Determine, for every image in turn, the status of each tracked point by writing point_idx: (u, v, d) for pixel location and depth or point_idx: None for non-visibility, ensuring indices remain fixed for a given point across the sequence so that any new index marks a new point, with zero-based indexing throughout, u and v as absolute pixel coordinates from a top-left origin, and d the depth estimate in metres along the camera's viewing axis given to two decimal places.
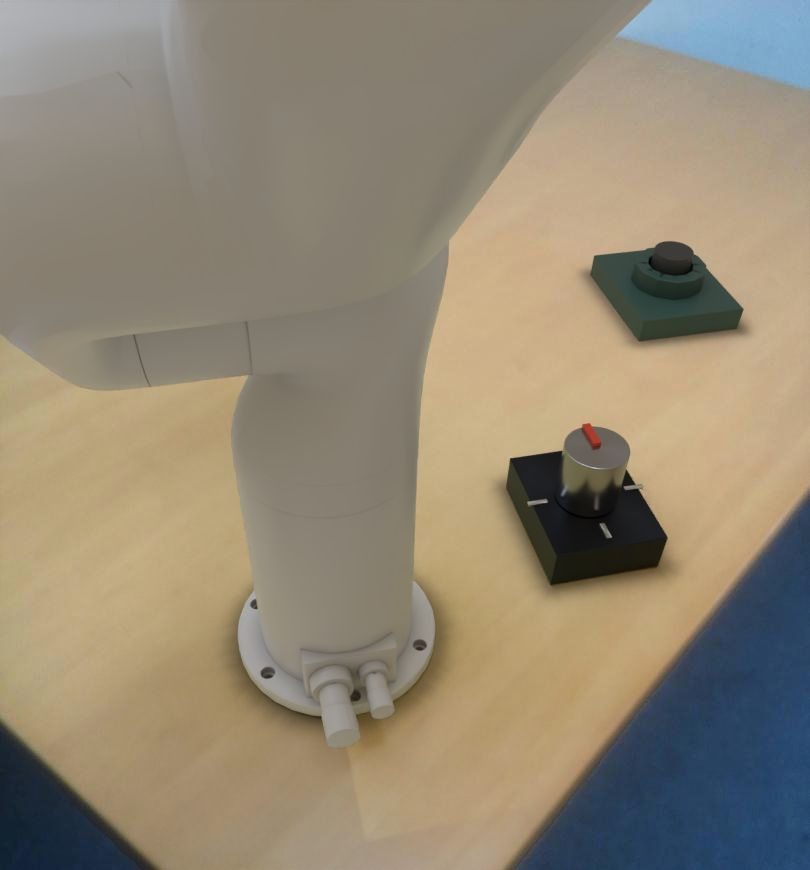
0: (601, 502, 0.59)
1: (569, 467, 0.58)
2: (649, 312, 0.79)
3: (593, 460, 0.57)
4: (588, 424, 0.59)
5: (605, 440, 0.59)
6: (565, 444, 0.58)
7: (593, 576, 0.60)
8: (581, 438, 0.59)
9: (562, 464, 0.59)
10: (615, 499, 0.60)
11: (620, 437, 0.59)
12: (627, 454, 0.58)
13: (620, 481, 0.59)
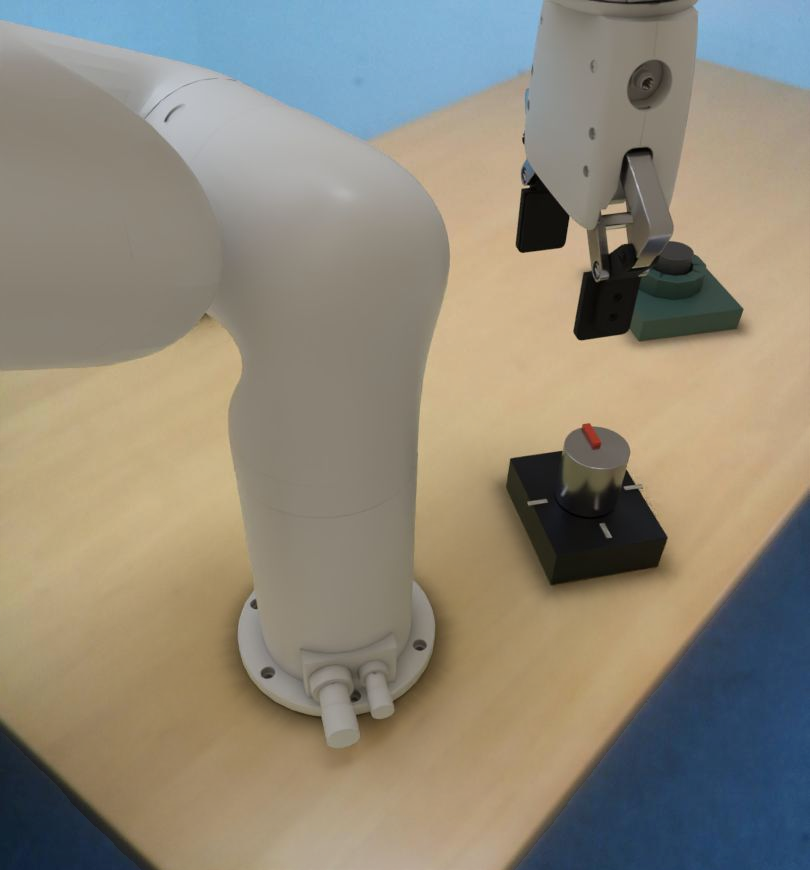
0: (601, 502, 0.59)
1: (569, 467, 0.58)
2: (649, 312, 0.79)
3: (593, 460, 0.57)
4: (588, 424, 0.59)
5: (605, 440, 0.59)
6: (565, 444, 0.58)
7: (593, 576, 0.60)
8: (581, 438, 0.59)
9: (562, 464, 0.59)
10: (615, 499, 0.60)
11: (620, 437, 0.59)
12: (627, 454, 0.58)
13: (620, 481, 0.59)
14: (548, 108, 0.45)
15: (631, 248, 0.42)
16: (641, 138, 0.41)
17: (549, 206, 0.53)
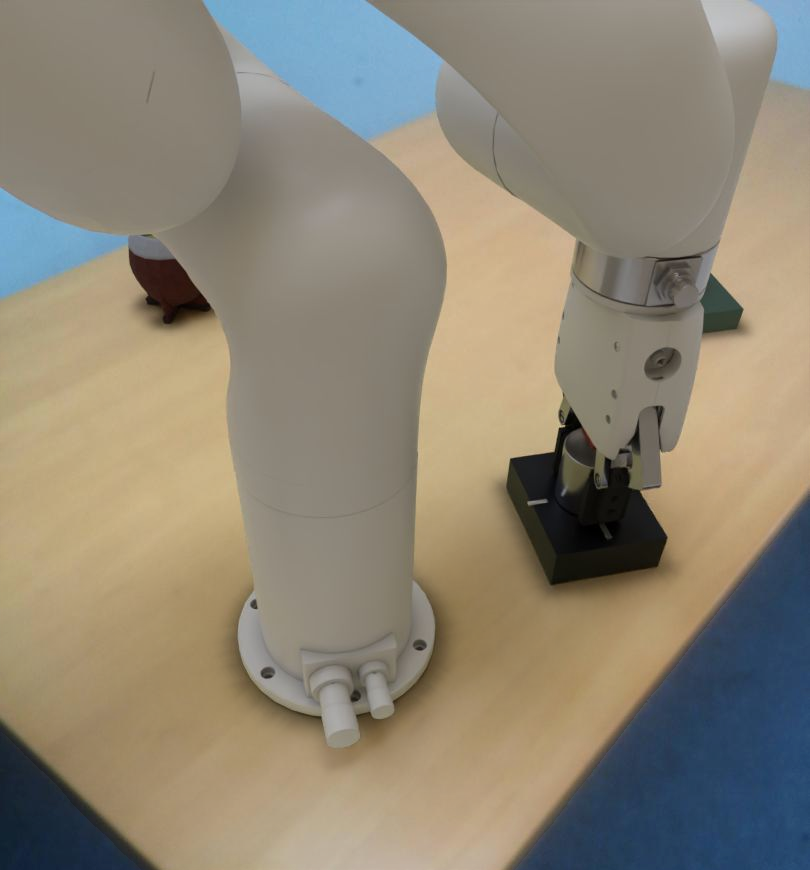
0: None
1: (569, 467, 0.58)
2: None
3: (593, 460, 0.57)
4: None
5: None
6: (565, 444, 0.58)
7: (593, 576, 0.60)
8: (581, 438, 0.59)
9: (562, 464, 0.59)
10: None
11: None
12: (627, 454, 0.58)
13: None
14: (577, 356, 0.53)
15: (625, 473, 0.53)
16: (655, 400, 0.49)
17: None
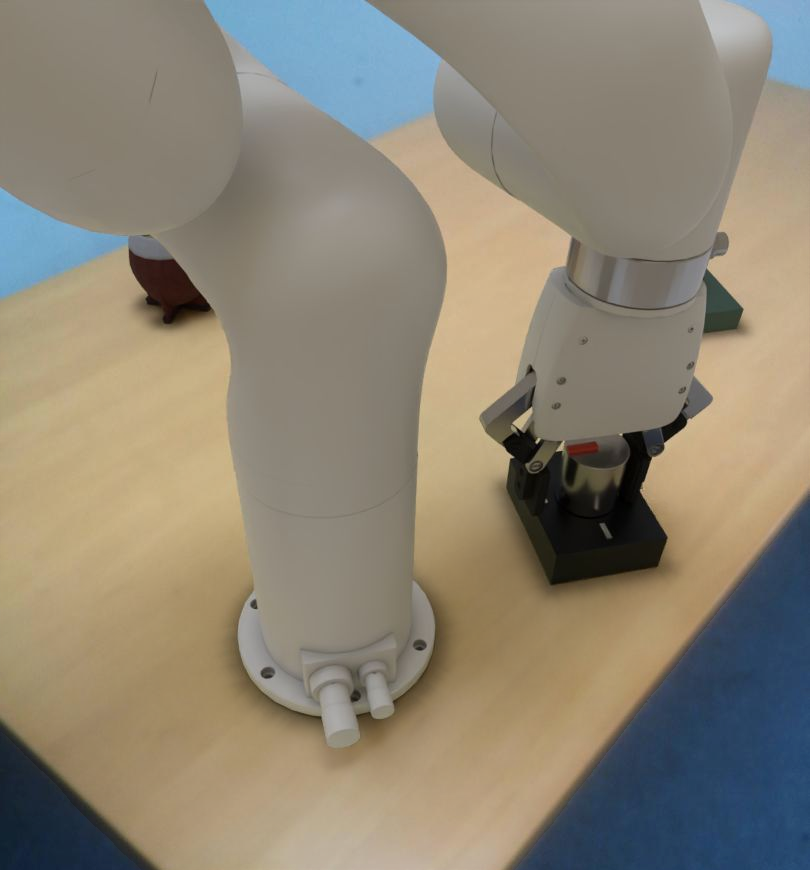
0: None
1: (617, 474, 0.58)
2: None
3: (618, 452, 0.58)
4: (569, 446, 0.58)
5: (585, 440, 0.59)
6: (599, 468, 0.57)
7: (593, 576, 0.60)
8: (586, 456, 0.58)
9: (603, 483, 0.58)
10: None
11: None
12: None
13: None
14: (617, 386, 0.51)
15: (682, 415, 0.57)
16: None
17: None
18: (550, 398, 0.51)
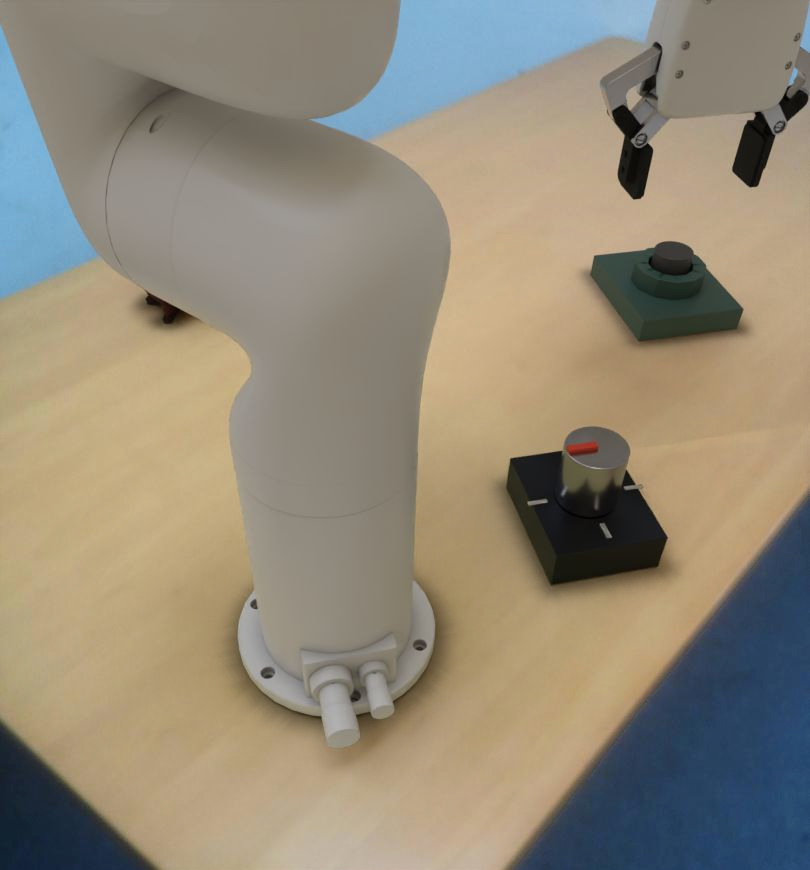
0: None
1: (617, 474, 0.58)
2: (649, 312, 0.79)
3: (618, 452, 0.58)
4: (569, 446, 0.58)
5: (585, 440, 0.59)
6: (599, 468, 0.57)
7: (593, 576, 0.60)
8: (586, 456, 0.58)
9: (603, 483, 0.58)
10: None
11: (578, 430, 0.59)
12: (603, 428, 0.60)
13: None
14: (733, 53, 0.59)
15: (804, 92, 0.64)
16: None
17: None
18: (674, 65, 0.59)
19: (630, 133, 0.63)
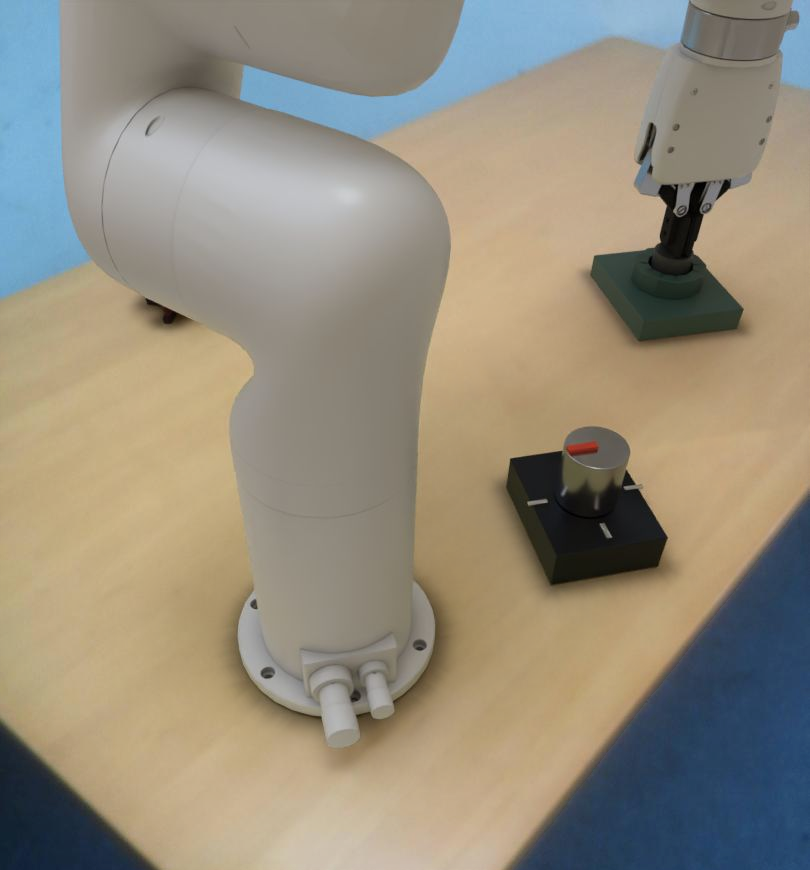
0: None
1: (617, 474, 0.58)
2: (649, 312, 0.79)
3: (618, 452, 0.58)
4: (569, 446, 0.58)
5: (585, 440, 0.59)
6: (599, 468, 0.57)
7: (593, 576, 0.60)
8: (586, 456, 0.58)
9: (603, 483, 0.58)
10: None
11: (578, 430, 0.59)
12: (603, 428, 0.60)
13: None
14: (715, 133, 0.71)
15: (726, 179, 0.76)
16: None
17: None
18: (667, 143, 0.71)
19: (672, 205, 0.77)
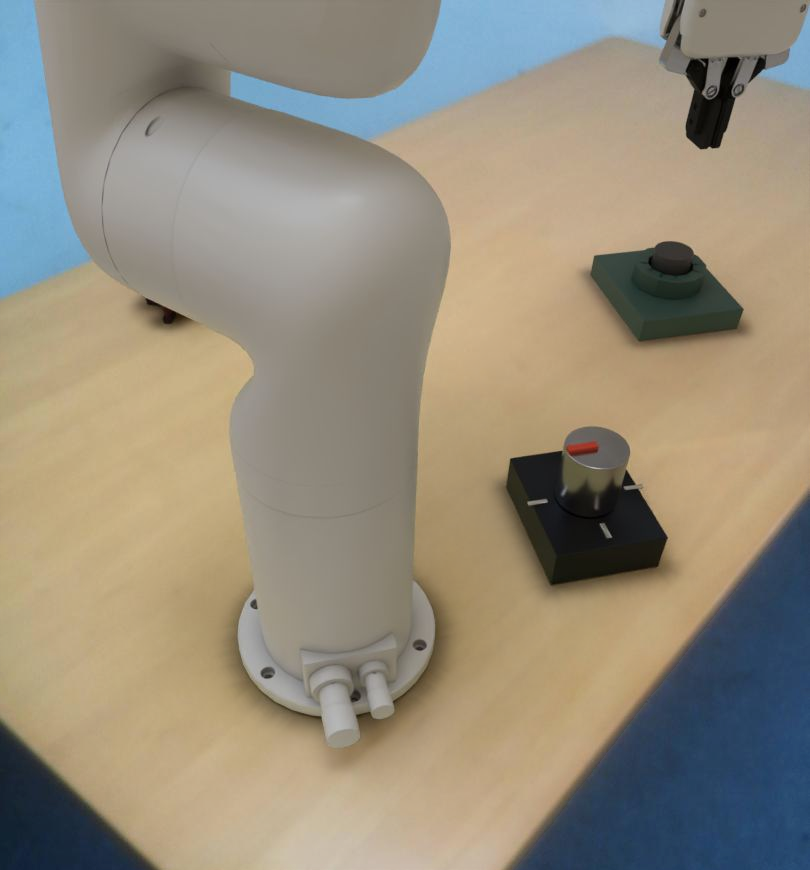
0: None
1: (617, 474, 0.58)
2: (649, 312, 0.79)
3: (618, 452, 0.58)
4: (569, 446, 0.58)
5: (585, 440, 0.59)
6: (599, 468, 0.57)
7: (593, 576, 0.60)
8: (586, 456, 0.58)
9: (603, 483, 0.58)
10: None
11: (578, 430, 0.59)
12: (603, 428, 0.60)
13: None
14: None
15: (761, 57, 0.69)
16: None
17: None
18: (698, 4, 0.63)
19: (701, 85, 0.69)
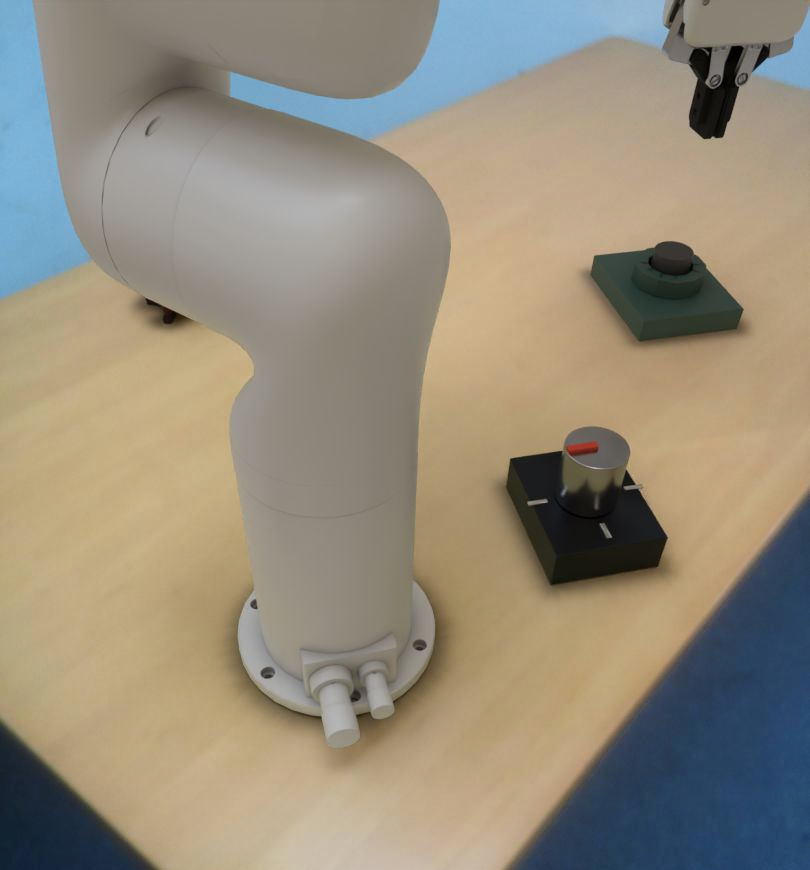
0: None
1: (617, 474, 0.58)
2: (649, 312, 0.79)
3: (618, 452, 0.58)
4: (569, 446, 0.58)
5: (585, 440, 0.59)
6: (599, 468, 0.57)
7: (593, 576, 0.60)
8: (586, 456, 0.58)
9: (603, 483, 0.58)
10: None
11: (578, 430, 0.59)
12: (603, 428, 0.60)
13: None
14: None
15: (765, 46, 0.68)
16: None
17: None
18: None
19: (705, 75, 0.69)
